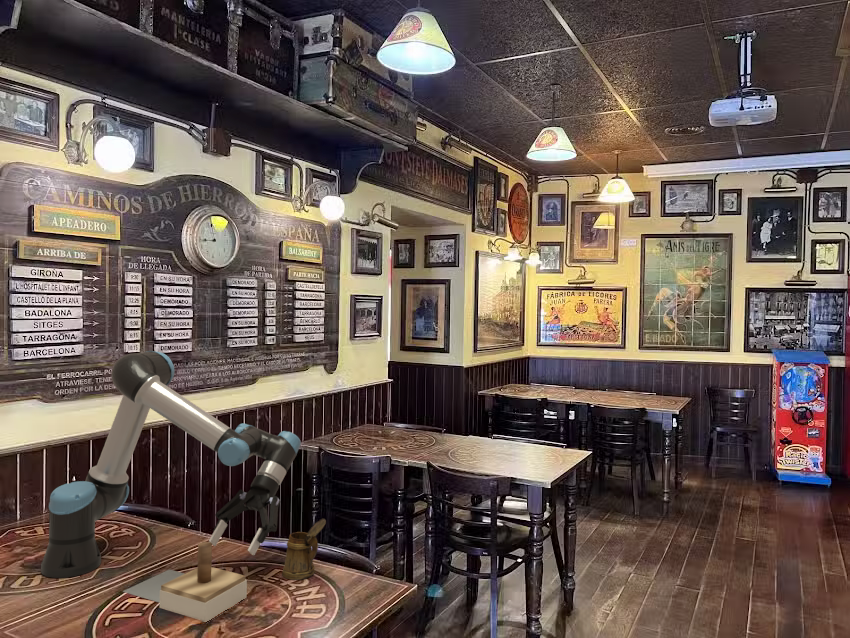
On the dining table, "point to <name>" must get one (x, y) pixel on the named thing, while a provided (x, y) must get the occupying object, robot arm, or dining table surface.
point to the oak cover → (203, 579)
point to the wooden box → (200, 608)
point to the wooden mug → (302, 553)
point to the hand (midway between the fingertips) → (231, 548)
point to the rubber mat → (153, 585)
